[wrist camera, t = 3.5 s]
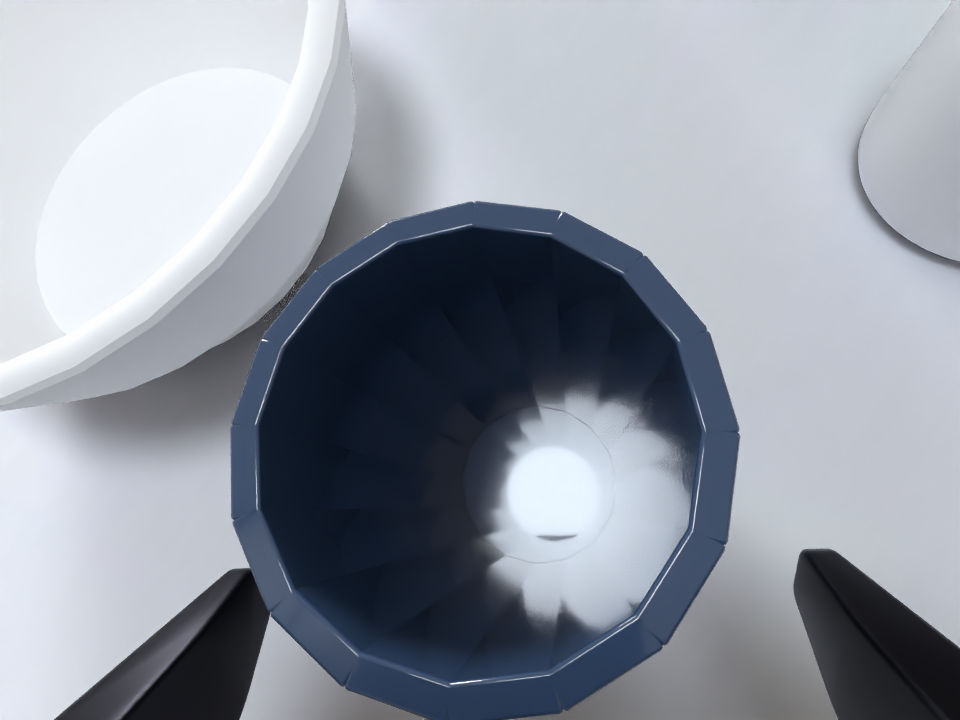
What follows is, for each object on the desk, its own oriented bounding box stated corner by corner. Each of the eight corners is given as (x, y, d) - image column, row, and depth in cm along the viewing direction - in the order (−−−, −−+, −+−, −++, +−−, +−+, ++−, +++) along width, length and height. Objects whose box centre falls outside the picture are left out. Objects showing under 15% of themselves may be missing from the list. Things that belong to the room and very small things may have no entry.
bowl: (220, -36, 29) (87, -240, 21) (528, 156, 22) (501, -41, 14) (-84, 258, 27) (-359, 153, 19) (152, 574, 20) (-127, 616, 12)
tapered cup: (662, 511, 17) (871, 517, 5) (512, 608, 17) (360, 847, 5) (561, 368, 19) (536, 123, 7) (426, 455, 19) (166, 362, 7)
